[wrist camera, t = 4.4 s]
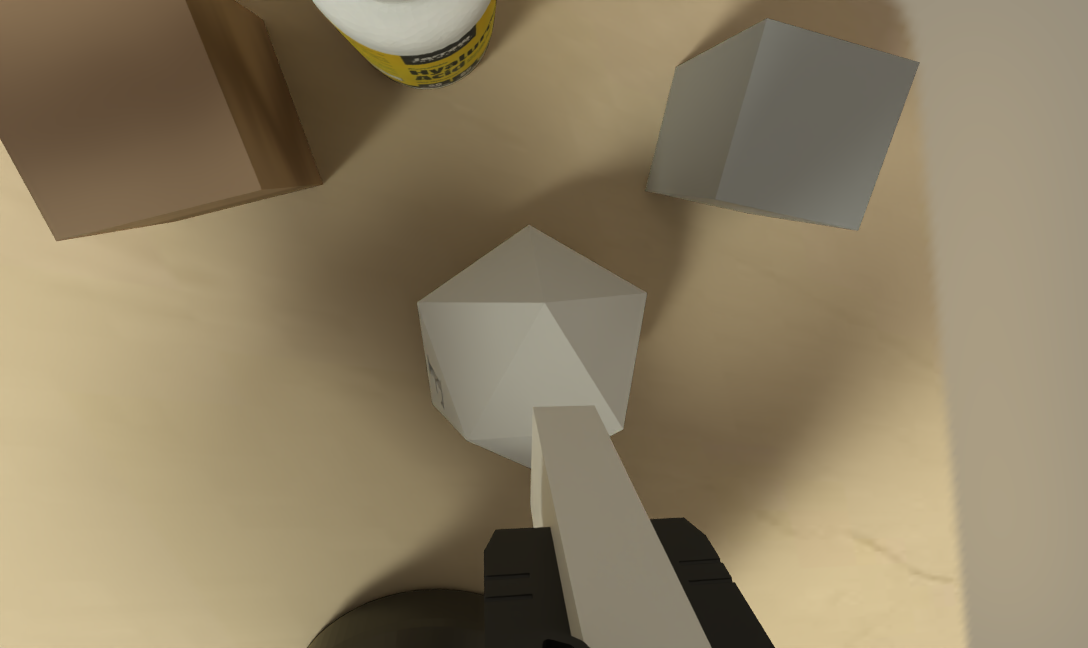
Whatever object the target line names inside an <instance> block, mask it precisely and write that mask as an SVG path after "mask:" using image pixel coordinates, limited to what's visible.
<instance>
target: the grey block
mask: <svg viewBox="0 0 1088 648" xmlns="http://www.w3.org/2000/svg"><path fill="white" fill-rule="evenodd" d="M918 65H919V62H916V61H913V60H909V59H906V58H903V57H899V56H896V55H892V54H889V53H885V52H882V51H878V50H875V49H872V48H868V47H865V46H861V45H858V44H854V43H851V42H848V41H844V40H841V39H837V38H834V37H830V36H827V35H823V34H820V33H817V32H813V31H810V30H806V29H803V28H799V27H796V26H793V25H789V24H786V23H782V22H779V21H775V20H772V19H768V18H766V19H765V20H763V21H761V22H759V23H757V24H755V25H753V26H752V27H750V28H748V29H746V30H744V31H742V32H740V33H738V34H737V35H735V36H733V37H731V38H729V39H727V40H725V41H724V42H722V43H720V44H718V45H716V46H714V47H712V48H711V49H709V50H707V51H705V52H703V53H701V54H699V55H698V56H696V57H694V58H692V59H690V60H688V61H686V62H685V63H683V64H681V65H679V66H677V67H676V69H675V73H674V77H673V81H672V85H671V89H670V93H669V97H668V101H667V105H666V109H665V113H664V117H663V121H662V125H661V129H660V133H659V137H658V141H657V145H656V149H655V153H654V157H653V161H652V165H651V169H650V173H649V177H648V181H647V185H646V189H645V191H648V192H652V193H657V194H662V195H666V196H671V197H675V198H680V199H685V200H689V201H694V202H698V203H703V204H708V205H712V206H717V207H721V208H726V209H731V210H735V211H740V212H744V213H749V214H755V215H762V216H768V217H774V218H780V219H787V220H793V221H799V222H806V223H812V224H818V225H825V226H831V227H837V228H844V229H850V230H856V231H858V230H859V227H860V224H861V222H862V219H863V216H864V213H865V211H866V208H867V205H868V202H869V200H870V197H871V194H872V191H873V189H874V186H875V183H876V180H877V178H878V175H879V172H880V169H881V167H882V164H883V161H884V159H885V156H886V153H887V150H888V148H889V145H890V142H891V139H892V137H893V134H894V131H895V128H896V126H897V123H898V120H899V117H900V115H901V112H902V109H903V107H904V104H905V101H906V98H907V96H908V93H909V90H910V87H911V85H912V82H913V79H914V76H915V74H916V71H917V68H918Z"/></svg>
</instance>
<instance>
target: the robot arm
mask: <svg viewBox="0 0 1088 648" xmlns="http://www.w3.org/2000/svg"><path fill="white" fill-rule="evenodd" d="M530 507H531V513H532V520H533V527H534V528H519V529H501V530H495V532H494V534H493V536H492V537H491V539H490V541H489V543H488V545H487V547H486V548H485V550H484V596H483V595H480V594H475V593H470V592H464V591H457V590H437V589H436V590H419V591H411V592H405V593H400V594H395V595H391V596H388V597H384V598H381V599H378V600H375V601H372V602H370V603H367V604H365V605H362V606H360V607H358V608H356V609H354V610H352V611H350V612H349V613H347V614H345V615H344V616H342V617H341V618H339V619H338V620H336V621H335V622H333V623H332V624H331V625H329V626H328V627H327V628H326V629H325V630H324V631H322V632H321V633H320V634H319V635H318V636H317V637H316V638H315V639H314V641H313V642H312V643H311V644H310V645H309V647H308V648H775V647H774V645H773V644H772V642H771V640H770V639H769V637H768V636H767V634H766V632H765V631H764V629H763V627H762V626H761V624H760V623H759V621H758V619H757V618H756V616H755V614H754V613H753V611H752V610H751V608H750V606H749V605H748V603H747V601H746V600H745V598H744V597H743V595H742V593H741V592H740V590H739V589H738V587H737V585H736V584H735V582H734V583H733V582H732V577H731V576H730V574H729V572H728V571H727V569H726V567H725V566H724V564H723V563H721V562H720V558H719V556H718V554H717V553H716V551H715V550H714V548H713V546H712V545H711V543H710V541H709V540H708V538H707V537H706V535H704V534H703V533H702V532H701V531H700V530H698V529H697V528H696V527H695V526H694V525H692V524H691V523H690V522H689V521H687V520H686V519H685V518H667V519H649V517H648V515H647V513H646V511H645V509H644V507H643V505H642V503H641V501H640V498H639V496H638V494H637V492H636V490H635V488H634V486H633V484H632V482H631V480H630V478H629V476H628V474H627V472H626V470H625V467H624V465H623V463H622V461H621V459H620V457H619V455H618V453H617V451H616V449H615V447H614V445H613V443H612V441H611V438H610V436H609V434H608V432H607V430H606V428H605V426H604V424H603V422H602V420H601V418H600V416H599V414H598V412H597V409H596V407H595V405H587V406H549V407H533V414H532V455H531V496H530Z"/></svg>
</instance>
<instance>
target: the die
mask: <svg viewBox="0 0 1088 648" xmlns="http://www.w3.org/2000/svg"><path fill="white" fill-rule="evenodd" d="M646 297H647V292H645V291H643V290H641V289H640V288H638V287H636V286H635V285H633V284H631V283H629V282H628V281H626V280H624V279H622V278H621V277H619V276H617V275H615V274H614V273H612V272H610V271H609V270H607V269H605V268H603V267H602V266H600V265H598V264H596V263H595V262H593V261H591V260H589V259H588V258H586V257H584V256H583V255H581V254H579V253H577V252H576V251H574V250H572V249H570V248H569V247H567V246H565V245H563V244H562V243H560V242H558V241H556V240H555V239H553V238H551V237H550V236H548V235H546V234H544V233H543V232H541V231H539V230H537V229H536V228H534V227H532V226H530V225H528V226H526V227H525V228H523V229H522V230H520V231H519V232H518V233H516V234H515V235H513V236H512V237H510V238H509V239H508V240H506V241H505V242H503V243H502V244H500V245H499V246H497V247H496V248H495V249H493V250H492V251H490V252H489V253H487V254H486V255H484V256H483V257H482V258H480V259H479V260H477V261H476V262H474V263H473V264H472V265H470V266H469V267H467V268H466V269H464V270H463V271H461V272H460V273H459V274H457V275H456V276H454V277H453V278H451V279H450V280H448V281H447V282H446V283H444V284H443V285H441V286H440V287H438V288H437V289H436V290H434V291H433V292H431V293H430V294H428V295H427V296H425V297H424V298H423V299H421V300H420V301H418V302H417V306H418V313H419V319H420V326H421V332H422V339H423V346H424V352H425V359H426V365H427V372H428V378H429V385H430V392H431V398H432V404H433V405H434V406H435V407H436V408H437V410H438V411H439V412H440V413H441V414H442V415H443V416H444V417H445V418H446V419H447V420H448V421H449V422H450V423H451V424H452V425H453V427H454V428H455V429H456V430H457V431H458V432H459V433H460V434H461V435H462V436H463V437H464V438H465V439H466V440H467V441H469V442H471V443H473V444H476V445H478V446H480V447H482V448H485V449H487V450H489V451H492V452H494V453H496V454H498V455H501V456H503V457H505V458H508V459H510V460H512V461H514V462H517V463H519V464H521V465H523V466H526V467H528V468H530V469H531V455H532V414H533V407H549V406H587V405H595V407H596V409H597V412H598V414H599V416H600V418H601V420H602V422H603V424H604V426H605V428H606V430H607V432H608V434H609V436H611V435H613V434H615V433H617V432H619V431H621V430H623V428H624V422H625V417H626V411H627V405H628V400H629V394H630V388H631V383H632V377H633V371H634V365H635V360H636V354H637V348H638V343H639V337H640V331H641V326H642V320H643V314H644V309H645V303H646Z"/></svg>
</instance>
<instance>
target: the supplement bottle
mask: <svg viewBox="0 0 1088 648" xmlns="http://www.w3.org/2000/svg"><path fill="white" fill-rule="evenodd" d="M312 1H313V2H314V4H315V5H316V6H317V8H318V9H319V10H320V11H321V12H322V13H323V14H324V16H325V17H326V18H327V19H328V20H329V21H330V22H331V23H332V24H333V25H334V26H335V27H336V29H337V30H338V31H339V32H340V33H341V34H342V35H343V36H344V37H345V38H346V39H347V40H348V41H349V42H350V43H351V44H352V45H353V46H354V47H355V48H356V49H357V50H358V51H359V52H360V53H361V54H362V56H364V57H365V58H366V59H367V60H368V61H369V62H370V63H371V64H372V65H373V66H374V67H375V68H376V69H378V70H379V71H380V72H381V73H383V74H384V75H386V76H387V77H389V78H390V79H392V80H394V81H396V82H398V83H400V84H403V85H405V86H409V87H412V88H417V89H436V88H442V87H445V86H448V85H451V84H453V83H455V82H457V81H459V80H461V79H462V78H464V77H465V76H466V75H467V74H469V73H470V72H471V71H472V70H473V69H474V68H475V67H476V65H477V64H478V63H479V61H480V60H481V58H482V57H483V55H484V53H485V51H486V49H487V47H488V44H489V41H490V38H491V34H492V30H493V25H494V18H495V10H496V2H497V0H312Z"/></svg>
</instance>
